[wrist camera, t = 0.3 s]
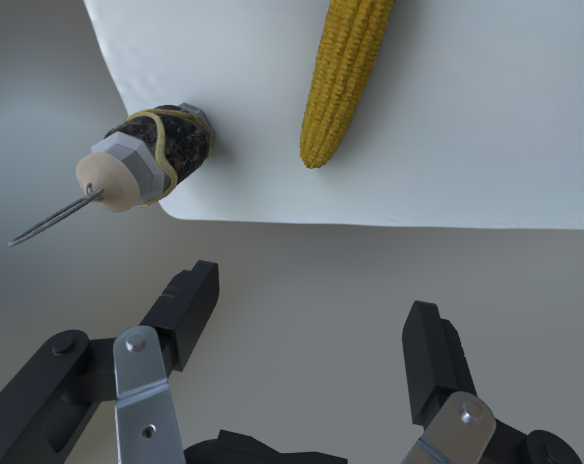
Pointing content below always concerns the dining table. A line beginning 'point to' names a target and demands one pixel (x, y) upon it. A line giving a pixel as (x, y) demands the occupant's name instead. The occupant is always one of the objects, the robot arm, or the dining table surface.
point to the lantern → (139, 161)
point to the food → (341, 74)
